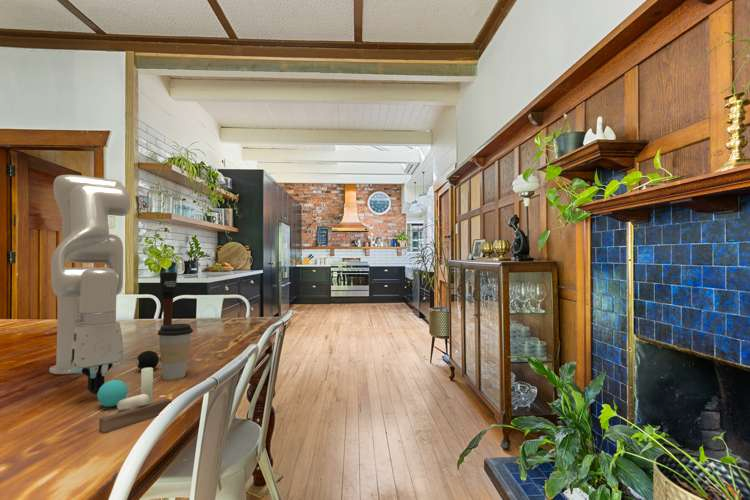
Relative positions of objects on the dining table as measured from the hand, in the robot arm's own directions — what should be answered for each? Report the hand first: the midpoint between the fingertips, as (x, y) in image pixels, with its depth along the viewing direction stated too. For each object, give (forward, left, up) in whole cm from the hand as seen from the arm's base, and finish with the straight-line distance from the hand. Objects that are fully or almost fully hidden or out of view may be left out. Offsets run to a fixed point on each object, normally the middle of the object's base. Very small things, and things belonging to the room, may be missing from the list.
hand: (95, 392), depth 98 cm
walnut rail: (+22, -1, -2) cm, 22 cm away
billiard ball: (-14, +20, -2) cm, 24 cm away
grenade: (-21, +30, -2) cm, 37 cm away
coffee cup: (-1, +21, -2) cm, 21 cm away
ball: (+9, 0, +2) cm, 9 cm away
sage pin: (+16, +4, -2) cm, 17 cm away
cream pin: (+13, 0, 0) cm, 13 cm away
